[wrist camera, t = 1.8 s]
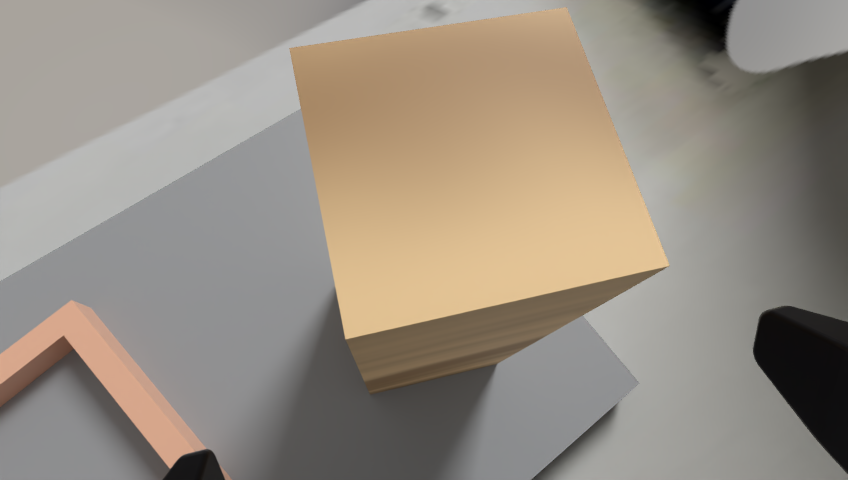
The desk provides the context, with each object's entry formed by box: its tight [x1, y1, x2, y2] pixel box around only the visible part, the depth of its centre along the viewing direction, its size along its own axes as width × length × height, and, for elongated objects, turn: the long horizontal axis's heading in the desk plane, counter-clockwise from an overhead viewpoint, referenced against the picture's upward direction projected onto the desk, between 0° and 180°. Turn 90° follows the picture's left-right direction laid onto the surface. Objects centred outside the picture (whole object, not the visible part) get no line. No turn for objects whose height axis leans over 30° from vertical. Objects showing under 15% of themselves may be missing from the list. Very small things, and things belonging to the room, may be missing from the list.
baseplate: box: [0, 109, 639, 480], centre depth 19 cm, size 22×16×2 cm
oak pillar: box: [290, 7, 670, 395], centre depth 13 cm, size 4×4×12 cm
